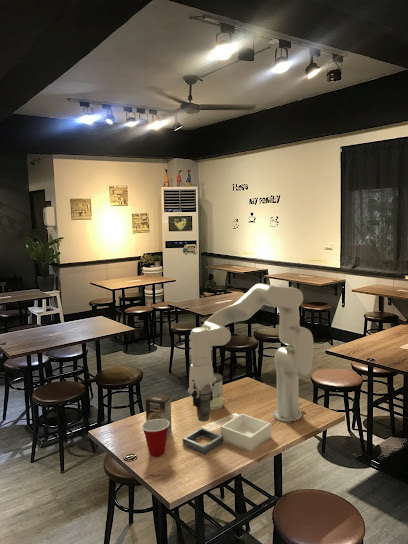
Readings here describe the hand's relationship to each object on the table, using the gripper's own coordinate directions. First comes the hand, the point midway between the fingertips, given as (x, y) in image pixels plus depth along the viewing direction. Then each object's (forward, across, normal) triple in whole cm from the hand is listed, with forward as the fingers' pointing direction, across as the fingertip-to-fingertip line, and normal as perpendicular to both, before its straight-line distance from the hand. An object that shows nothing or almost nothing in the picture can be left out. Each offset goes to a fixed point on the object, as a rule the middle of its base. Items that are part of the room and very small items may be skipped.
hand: (203, 402), depth 173 cm
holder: (+17, +1, 0) cm, 17 cm away
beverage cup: (+7, 0, 0) cm, 7 cm away
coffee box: (+17, +6, -20) cm, 27 cm away
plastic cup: (+17, +17, -10) cm, 26 cm away
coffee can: (+18, -29, -20) cm, 40 cm away
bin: (+18, -13, +11) cm, 25 cm away
